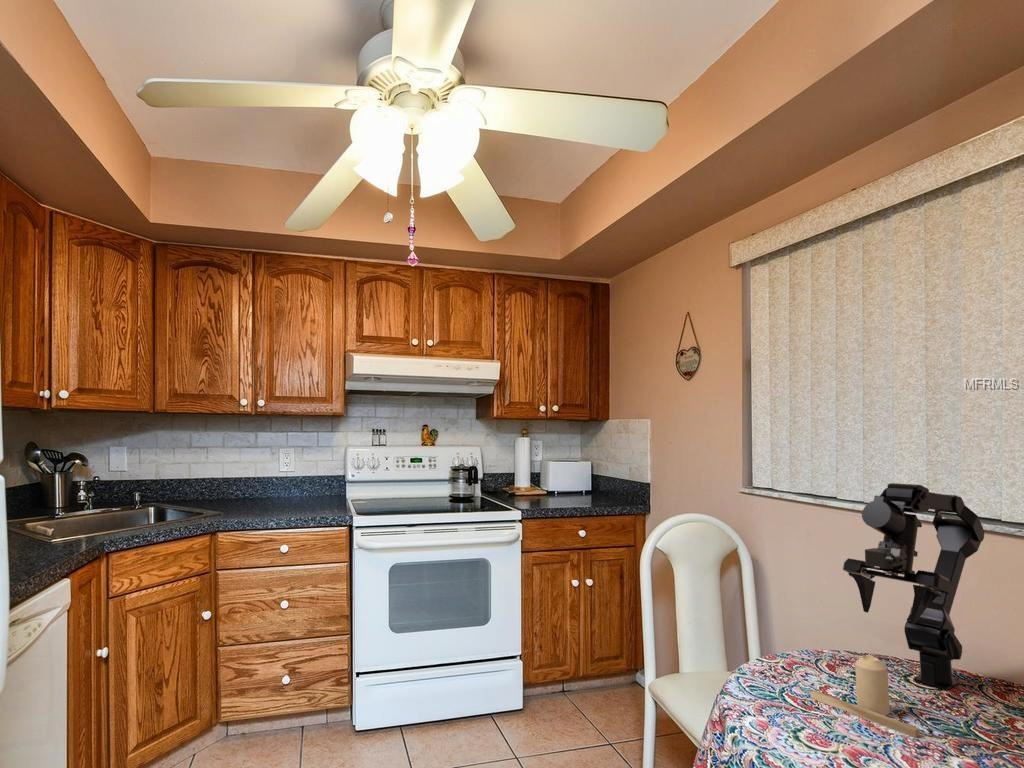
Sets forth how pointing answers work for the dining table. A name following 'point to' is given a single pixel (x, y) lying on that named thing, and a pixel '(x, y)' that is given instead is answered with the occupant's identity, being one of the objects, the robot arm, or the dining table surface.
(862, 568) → the robot arm
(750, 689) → the dining table surface
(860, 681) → the candle
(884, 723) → the oak strip
